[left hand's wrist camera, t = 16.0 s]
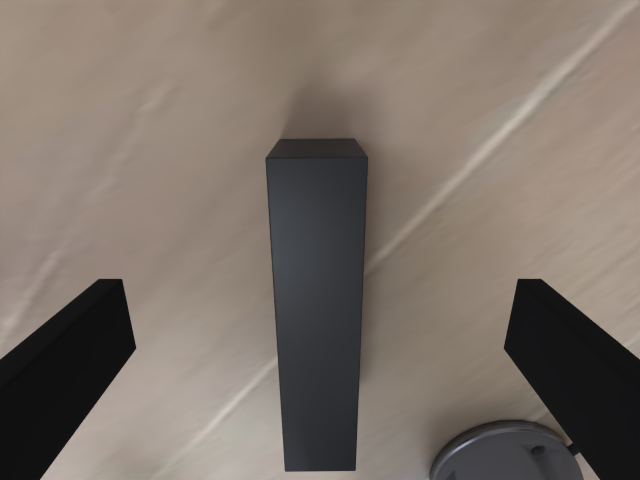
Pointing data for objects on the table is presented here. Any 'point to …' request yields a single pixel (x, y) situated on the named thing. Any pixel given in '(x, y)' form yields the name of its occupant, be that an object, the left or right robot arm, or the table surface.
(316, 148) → the bar
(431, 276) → the table surface
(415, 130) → the table surface
